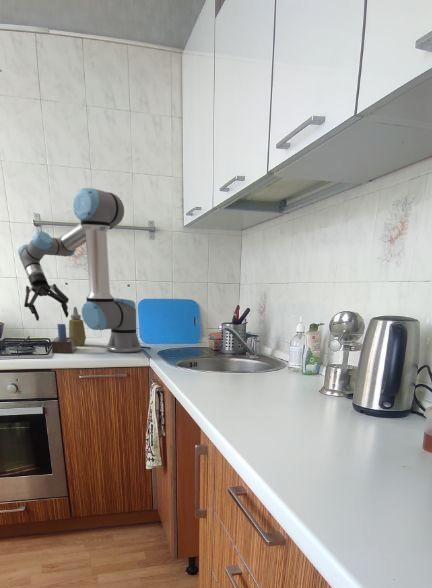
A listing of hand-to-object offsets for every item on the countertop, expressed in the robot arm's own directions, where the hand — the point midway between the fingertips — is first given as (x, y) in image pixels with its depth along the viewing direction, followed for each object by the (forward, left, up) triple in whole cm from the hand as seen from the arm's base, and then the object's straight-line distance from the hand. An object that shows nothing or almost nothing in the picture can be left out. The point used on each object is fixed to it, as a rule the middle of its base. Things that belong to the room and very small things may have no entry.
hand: (52, 317), depth 214 cm
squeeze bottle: (-9, -11, -14) cm, 20 cm away
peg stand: (-5, +6, -14) cm, 16 cm away
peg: (-5, +9, -14) cm, 17 cm away
